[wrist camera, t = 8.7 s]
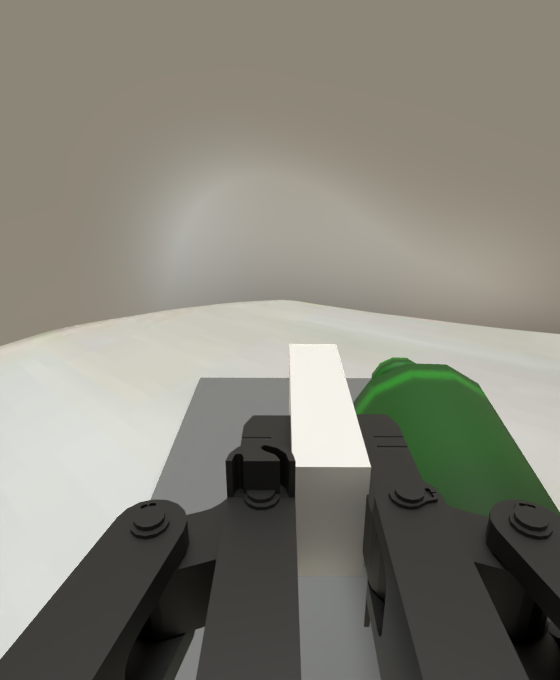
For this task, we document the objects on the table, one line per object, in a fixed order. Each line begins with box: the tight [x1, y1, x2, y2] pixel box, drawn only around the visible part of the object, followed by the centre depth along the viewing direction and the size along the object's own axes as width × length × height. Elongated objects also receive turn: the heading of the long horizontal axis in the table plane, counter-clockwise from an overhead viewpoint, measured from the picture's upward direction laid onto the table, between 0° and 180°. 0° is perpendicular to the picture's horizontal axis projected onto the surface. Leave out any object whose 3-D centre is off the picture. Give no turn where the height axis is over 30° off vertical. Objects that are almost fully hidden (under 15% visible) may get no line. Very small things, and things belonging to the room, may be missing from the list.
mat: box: [151, 378, 381, 680], centre depth 38 cm, size 36×22×1 cm, turn 179°
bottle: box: [353, 358, 560, 517], centre depth 30 cm, size 11×11×28 cm
